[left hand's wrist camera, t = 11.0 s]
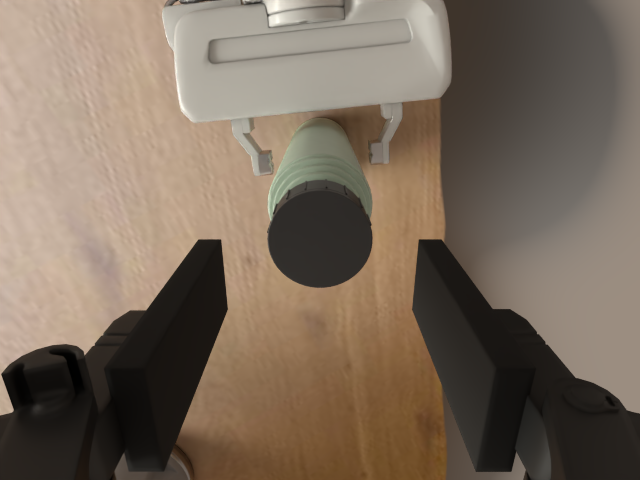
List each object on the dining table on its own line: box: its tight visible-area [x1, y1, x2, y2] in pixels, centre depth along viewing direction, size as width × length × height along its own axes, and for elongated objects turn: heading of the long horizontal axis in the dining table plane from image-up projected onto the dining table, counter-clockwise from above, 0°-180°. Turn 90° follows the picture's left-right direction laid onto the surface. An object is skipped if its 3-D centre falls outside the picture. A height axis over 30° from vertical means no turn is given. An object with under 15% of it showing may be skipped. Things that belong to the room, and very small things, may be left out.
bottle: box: [268, 118, 372, 220], centre depth 28 cm, size 6×6×23 cm
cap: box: [267, 179, 372, 288], centre depth 18 cm, size 4×4×2 cm
